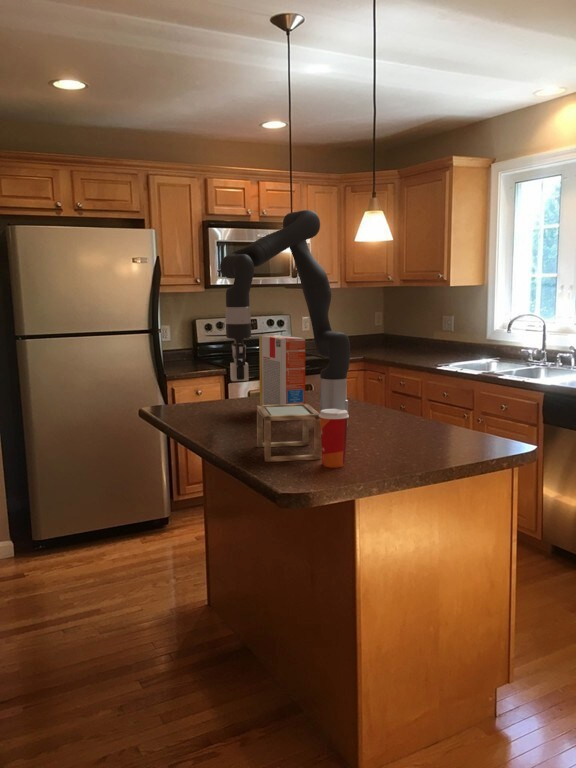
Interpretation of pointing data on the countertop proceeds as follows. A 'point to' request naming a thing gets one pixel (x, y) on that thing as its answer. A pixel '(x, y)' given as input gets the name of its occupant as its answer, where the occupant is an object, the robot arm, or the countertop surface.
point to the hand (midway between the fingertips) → (239, 377)
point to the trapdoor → (286, 410)
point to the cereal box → (282, 370)
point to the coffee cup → (333, 437)
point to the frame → (268, 444)
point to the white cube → (234, 372)
